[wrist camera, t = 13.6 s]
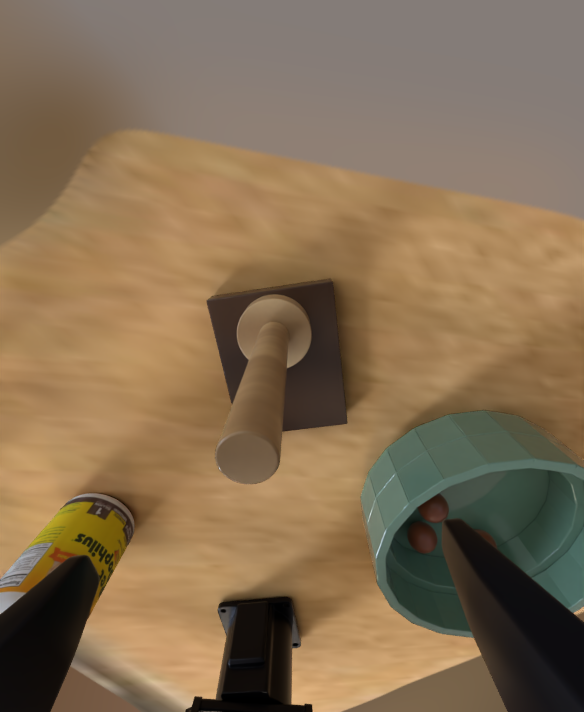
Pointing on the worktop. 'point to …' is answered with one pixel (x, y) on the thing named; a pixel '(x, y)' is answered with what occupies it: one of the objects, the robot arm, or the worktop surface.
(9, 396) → the worktop surface
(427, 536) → the bead
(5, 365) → the worktop surface
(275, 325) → the wooden pestle
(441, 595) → the bowl
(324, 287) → the dark grey slate tile
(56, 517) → the supplement bottle
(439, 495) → the bead
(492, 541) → the bead
